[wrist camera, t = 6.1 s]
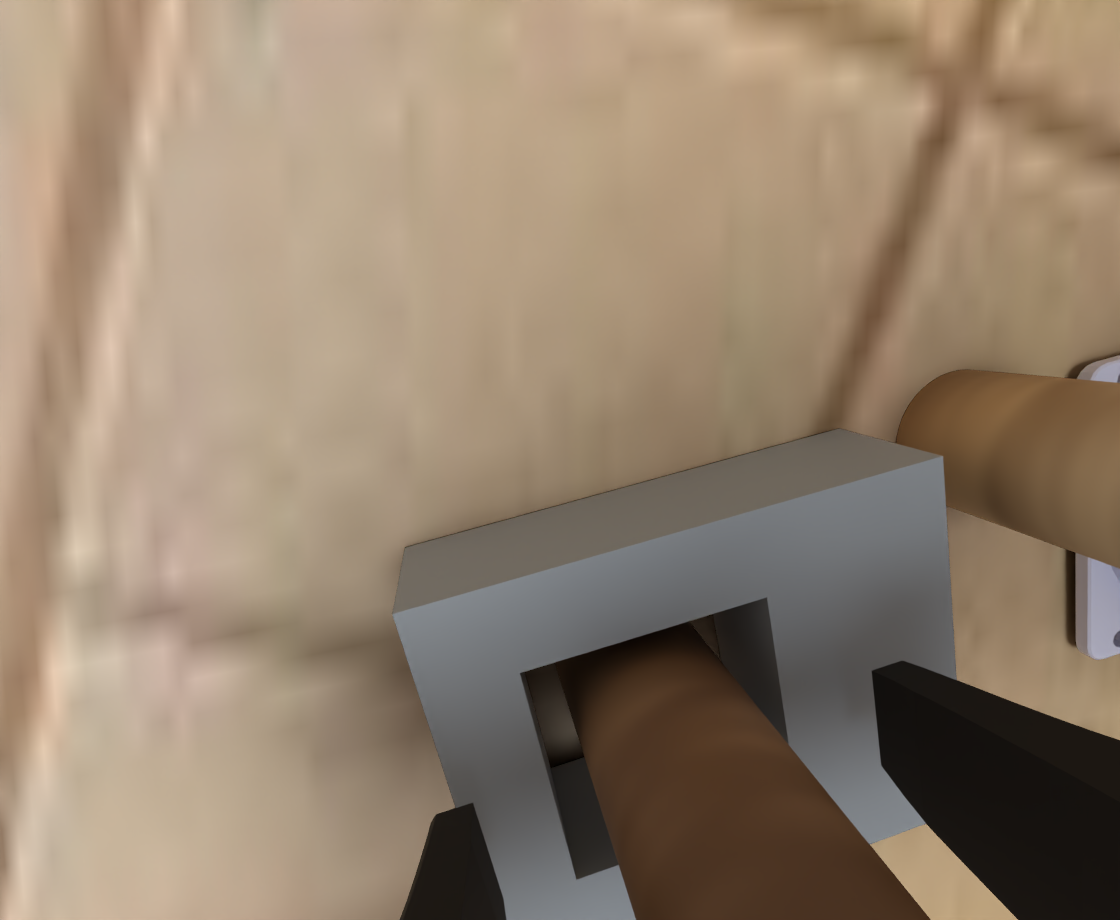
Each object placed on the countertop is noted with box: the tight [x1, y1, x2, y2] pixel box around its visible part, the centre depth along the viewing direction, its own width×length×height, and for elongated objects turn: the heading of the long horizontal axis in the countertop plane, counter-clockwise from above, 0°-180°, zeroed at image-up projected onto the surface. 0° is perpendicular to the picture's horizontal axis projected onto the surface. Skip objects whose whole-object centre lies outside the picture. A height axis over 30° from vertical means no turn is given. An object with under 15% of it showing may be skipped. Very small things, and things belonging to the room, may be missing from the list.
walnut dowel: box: [556, 621, 930, 920], centre depth 10 cm, size 3×3×8 cm
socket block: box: [392, 429, 957, 920], centre depth 13 cm, size 10×8×3 cm
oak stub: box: [896, 370, 1120, 569], centre depth 12 cm, size 3×3×5 cm
